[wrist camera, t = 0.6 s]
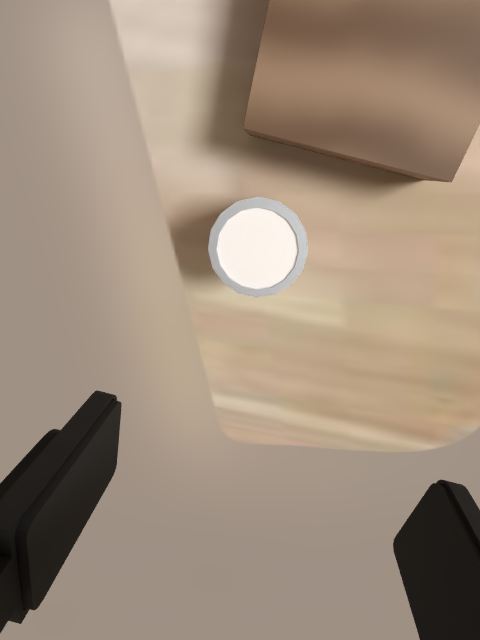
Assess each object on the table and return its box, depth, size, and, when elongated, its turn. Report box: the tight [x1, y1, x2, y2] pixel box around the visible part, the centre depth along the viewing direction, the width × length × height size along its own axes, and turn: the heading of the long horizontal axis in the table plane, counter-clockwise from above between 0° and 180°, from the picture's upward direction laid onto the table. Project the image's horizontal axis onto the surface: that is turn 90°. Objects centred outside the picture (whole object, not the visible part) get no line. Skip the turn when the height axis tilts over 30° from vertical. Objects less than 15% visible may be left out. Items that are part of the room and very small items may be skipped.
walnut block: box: [243, 0, 480, 182], centre depth 20 cm, size 14×14×5 cm
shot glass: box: [208, 197, 308, 297], centre depth 25 cm, size 7×7×7 cm
